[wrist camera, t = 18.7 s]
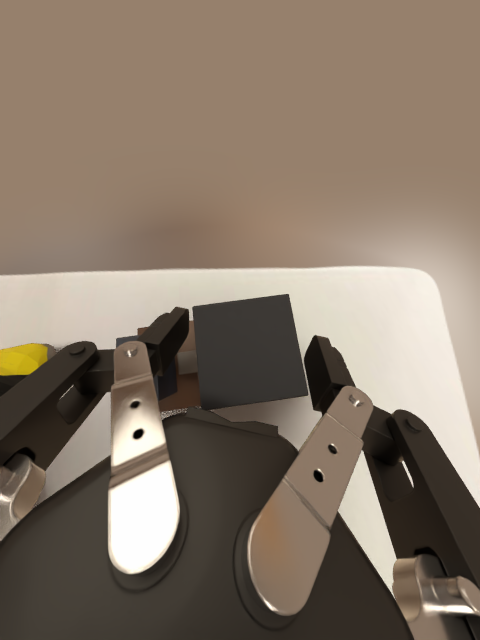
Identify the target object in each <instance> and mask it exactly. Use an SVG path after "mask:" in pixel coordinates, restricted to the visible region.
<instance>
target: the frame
mask: <svg viewBox="0 0 480 640" xmlns="http://www.w3.org/2000/svg"><path fill="white" fill-rule="evenodd" d="M147 328H148V327H144V328H138V335H136V336H129V337H122V338H117V339H116V348H117V347H118V346H119V345H121V344H123V343H125V342H128V341H136V340H137V339H138V338H139V337H140V336H141V334H142V333H143V332H144V331H145V330H146V329H147ZM153 380H154V385H155V390H156V394H157V399H158V404H159V409H160V412H163V411H170V410H176V409H183V408H188V407H189V406H190V407H196V406H201V401H200V389H199V377H198V366H197V354H196V343H195V331H194V320H193V321H189V333H188V336H187V338H186V340H185V341H184V343H183V345H182V346H181V348H180V349H179V351H178V353H177V354H176V356H175V358H174V359H173V361H172V362H171V364H170V366H169V367H168V369H167V370H166V372H165V374H164V375H163V376H159V375H155V377H154V378H153Z"/></svg>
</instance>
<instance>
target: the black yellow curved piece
mask: <svg viewBox="0 0 480 640" xmlns="http://www.w3.org/2000/svg"><path fill="white" fill-rule="evenodd" d="M55 354H56V352H55V349H54V347H53V346H51V345H49V344H34V343H30V344H26V345H21V346H16V347H12V348H7V349H2V350H0V397H1V396H2V395H3V394H5V393H6V392H7V391H9V390H10V389H11V388H13V387H14V386H15V385H16V384H18V383H19V382H20V381H22V380H23V379H24V378H25V377H27V376H28V375H29V374H31V373H32V372H33V371H35V370H36V369H37V368H38V367H40V366H41V365H42V364H44V363H45V362H46V361H48V360H49V359H50V358H51V357H53V356H54V355H55Z"/></svg>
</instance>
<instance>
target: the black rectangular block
mask: <svg viewBox="0 0 480 640" xmlns="http://www.w3.org/2000/svg"><path fill="white" fill-rule="evenodd" d="M193 319H194V331H195V343H196V354H197V366H198V377H199V389H200V401H201V409H203V410H211V409H218V408H225V407H232V406H239V405H246V404H253V403H260V402H267V401H274V400H281V399H288V398H295V397H301V396H308V389H307V384H306V379H305V374H304V369H303V364H302V359H301V354H300V349H299V344H298V339H297V334H296V328H295V323H294V318H293V313H292V308H291V303H290V298H289V294H284V295H276V296H269V297H261V298H253V299H246V300H238V301H230V302H223V303H215V304H207V305H200V306H193Z"/></svg>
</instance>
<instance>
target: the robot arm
mask: <svg viewBox="0 0 480 640" xmlns="http://www.w3.org/2000/svg"><path fill="white" fill-rule="evenodd" d="M188 333H189V310H188V309H185V308H180V307H175V308H174V309H173V310H172V312H171V313H165V314H163V315H161V316H159V317H158V318H157V319H156V320H155V321H154V322H153V323H152V324H151V325H150V326H149V327H148V328H147V329H146V330H145V331H144V332H143V333H142V334H141V336H140V337H139V338H138V339H137V340H136V341H128V342H125V343H123V344H121V345H119V346H118V347H117V348H116V349H111V350H97V347H96V345H95V344H94V343H92V342H88V341H82V342H76V343H73V344H70V345H68V346H66V347H65V348H63V349H62V350H61V351H59V352H58V353H57V354H55V355H54V356H53V357H51V358H50V359H49V360H48V361H46V362H45V363H44V364H42V365H41V366H40V367H38V368H37V369H36V370H35V371H33V372H32V373H31V374H29V375H28V376H27V377H25V378H24V379H23V380H22V381H20V382H19V383H18V384H16V385H15V386H14V387H13V388H11V389H10V390H9V391H7V392H6V393H5V394H3V395H2V396H1V397H0V640H480V508H479V506H478V505H477V503H476V501H475V500H474V498H473V497H472V495H471V494H470V492H469V490H468V489H467V487H466V486H465V484H464V482H463V481H462V479H461V478H460V476H459V475H458V473H457V471H456V470H455V468H454V467H453V465H452V464H451V462H450V460H449V459H448V457H447V456H446V454H445V452H444V451H443V449H442V448H441V446H440V445H439V443H438V441H437V440H436V438H435V437H434V435H433V434H432V432H431V430H430V429H429V427H428V426H427V425H426V424H425V423H424V422H423V421H422V420H421V419H420V418H418V417H417V416H416V415H414V414H412V413H410V412H408V411H406V410H401V409H399V410H396V411H395V412H394V413H392V414H390V413H388V412H386V411H384V410H382V409H380V408H378V407H375V406H374V405H373V403H372V401H371V400H370V398H369V397H368V396H367V395H366V394H365V393H364V392H363V391H361V390H359V389H358V388H356V386H355V384H354V382H353V380H352V377H351V375H350V373H349V371H348V369H347V368H346V367H347V366H346V364H345V362H344V360H343V357H342V355H341V353H340V352H339V351H338V350H337V349H336V348H335V347H332V346H331V344H330V341H329V339H328V338H326V337H321V336H316V335H315V336H314V337H313V338H312V340H311V342H310V345H309V347H308V349H307V351H306V353H305V357H304V364H305V369H306V374H307V380H308V385H309V390H310V395H311V400H312V405H313V410H315V411H320V412H321V413H322V417H321V419H320V420H319V422H318V423H317V424H316V426H315V427H314V429H313V430H312V432H311V433H310V435H309V436H308V438H307V439H306V441H305V442H304V444H303V445H302V447H301V448H300V449H299V451H298V450H297V449H296V448H295V447H294V446H293V445H292V444H291V443H290V442H289V441H288V440H287V439H285V438H284V437H282V436H281V435H279V434H278V426H274V425H270V424H265V423H261V422H257V421H251V422H230V421H228V420H226V419H224V418H223V417H221V416H219V415H217V414H215V413H213V412H211V411H208V410H203V409H199V408H194V407H190V406H189V407H188V409H187V412H186V413H182V414H176V415H173V416H170V417H167V418H165V419H163V420H162V419H161V414H160V409H159V404H158V399H157V394H156V390H155V385H154V380H153V378H154V377H155V375H159V376H163V375H164V374H165V372H166V370H167V369H168V367H169V366H170V364H171V362H172V361H173V359H174V358H175V356H176V354H177V353H178V351H179V349H180V348H181V346H182V345H183V343H184V341H185V340H186V338H187V336H188ZM73 384H74V386H73V387H72V388H71V389H70V390H69V391H68V392H67V393H66V394H65V395H64V396H63V397H62V398H61V396H62V395H63V394H64V393H65V392H66V391H67V390H68V389H69V388H70V387H71V386H72V385H73ZM106 392H111V455H110V456H108V457H107V458H105V459H104V460H103V461H101V462H100V463H98V464H97V465H95V466H94V467H92V468H91V469H89V470H88V471H87V472H85V473H84V474H82V475H81V476H79V477H78V478H76V479H75V480H73V481H72V482H71V483H69V484H68V485H66V486H65V487H63V488H62V489H60V490H59V491H57V492H56V493H55V494H53V495H52V496H50V497H49V498H47V499H46V500H44V501H43V502H42V503H40V504H39V505H37V506H36V507H35V508H33V505H34V504H35V503H36V502H37V500H38V499H39V496H40V492H41V490H42V489H43V486H44V484H45V480H46V474H45V470H46V469H47V468H48V466H49V465H50V464H51V463H52V461H53V460H54V459H55V457H56V456H57V455H58V454H59V452H60V451H61V450H62V449H63V447H64V446H65V445H66V443H67V442H68V441H69V440H70V438H71V437H72V436H73V434H74V433H75V432H76V431H77V429H78V428H79V427H80V426H81V424H82V423H83V422H84V420H85V419H86V418H87V417H88V415H89V414H90V413H91V411H92V410H93V409H94V408H95V406H96V405H97V404H98V403H99V401H100V400H101V399H102V397H103V396H104V395H105V394H106ZM60 398H61V399H60ZM59 399H60V400H59ZM361 450H363V452H364V455H365V458H366V461H367V465H368V468H369V471H370V474H371V477H372V481H373V484H374V487H375V490H376V494H377V497H378V500H379V503H380V506H381V510H382V513H383V516H384V519H385V522H386V526H387V529H388V532H389V535H390V539H391V542H392V545H393V548H394V551H395V555H396V558H397V560H396V562H395V563H394V566H393V580H394V582H393V585H392V590H393V594H394V597H395V598H394V597H393V595H392V594H391V592H390V590H389V589H388V587H387V586H386V584H385V583H384V581H383V580H382V578H381V577H380V575H379V573H378V572H377V570H376V569H375V567H374V566H373V564H372V563H371V561H370V560H369V558H368V557H367V555H366V554H365V552H364V550H363V549H362V547H361V546H360V544H359V543H358V541H357V540H356V538H355V537H354V535H353V534H352V532H351V531H350V529H349V527H348V526H347V524H346V523H345V521H344V520H343V518H342V517H341V515H340V514H339V512H338V509H339V506H340V503H341V501H342V498H343V496H344V493H345V491H346V488H347V486H348V483H349V481H350V478H351V475H352V473H353V470H354V468H355V465H356V463H357V460H358V458H359V455H360V453H361ZM403 460H404V462H405V464H406V466H407V468H408V471H409V473H410V475H411V477H412V480H413V485H414V488H413V487H412V484H411V482H410V480H409V478H408V475H407V473H406V471H405V469H404V466H403V464H402V461H403ZM32 508H33V509H32ZM395 599H396V600H395Z"/></svg>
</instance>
